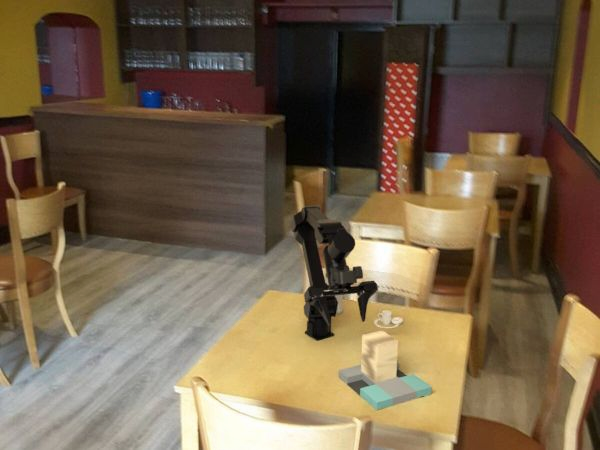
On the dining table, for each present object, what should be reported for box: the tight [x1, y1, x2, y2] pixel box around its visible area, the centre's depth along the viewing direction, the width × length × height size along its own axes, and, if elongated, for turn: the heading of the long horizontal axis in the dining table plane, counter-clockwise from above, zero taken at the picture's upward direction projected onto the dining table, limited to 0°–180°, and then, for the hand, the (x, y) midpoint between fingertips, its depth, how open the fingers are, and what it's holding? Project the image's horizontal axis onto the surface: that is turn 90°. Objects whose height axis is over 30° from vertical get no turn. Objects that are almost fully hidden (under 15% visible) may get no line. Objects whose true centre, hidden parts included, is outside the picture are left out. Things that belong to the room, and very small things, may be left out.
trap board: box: [338, 362, 417, 406], centre depth 157 cm, size 18×16×2 cm
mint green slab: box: [359, 373, 433, 411], centre depth 152 cm, size 7×16×2 cm, turn 117°
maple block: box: [360, 330, 399, 383], centre depth 157 cm, size 7×6×10 cm
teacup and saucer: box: [373, 309, 404, 329], centre depth 193 cm, size 9×8×4 cm
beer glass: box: [323, 267, 344, 315], centre depth 201 cm, size 7×7×15 cm
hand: (346, 323), depth 160 cm, fingers open, 9 cm apart
